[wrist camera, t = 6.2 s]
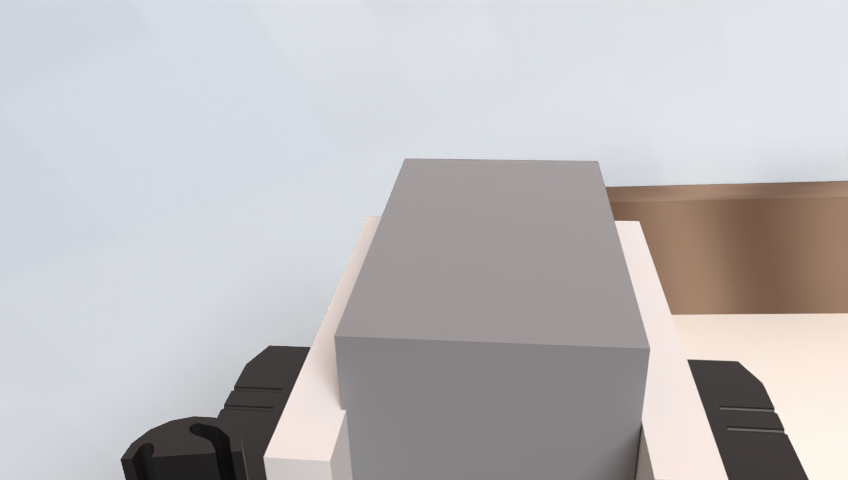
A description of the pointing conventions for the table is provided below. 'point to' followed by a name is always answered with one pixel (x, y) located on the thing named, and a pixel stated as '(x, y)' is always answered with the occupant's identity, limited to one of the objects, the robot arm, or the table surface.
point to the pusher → (494, 329)
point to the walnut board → (744, 245)
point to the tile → (788, 374)
